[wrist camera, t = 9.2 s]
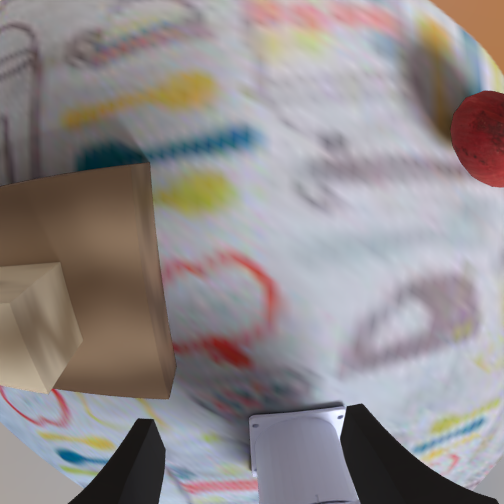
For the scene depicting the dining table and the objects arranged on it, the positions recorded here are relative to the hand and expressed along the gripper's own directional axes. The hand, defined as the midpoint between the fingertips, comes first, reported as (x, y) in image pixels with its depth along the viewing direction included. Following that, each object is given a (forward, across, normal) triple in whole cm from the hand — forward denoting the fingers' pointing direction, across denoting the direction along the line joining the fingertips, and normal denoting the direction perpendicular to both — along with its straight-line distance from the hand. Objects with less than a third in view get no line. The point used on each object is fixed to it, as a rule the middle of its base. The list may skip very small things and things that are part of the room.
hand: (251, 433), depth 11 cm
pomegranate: (+11, -15, -11) cm, 22 cm away
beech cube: (+7, +12, -2) cm, 14 cm away
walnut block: (+11, +12, -2) cm, 16 cm away
